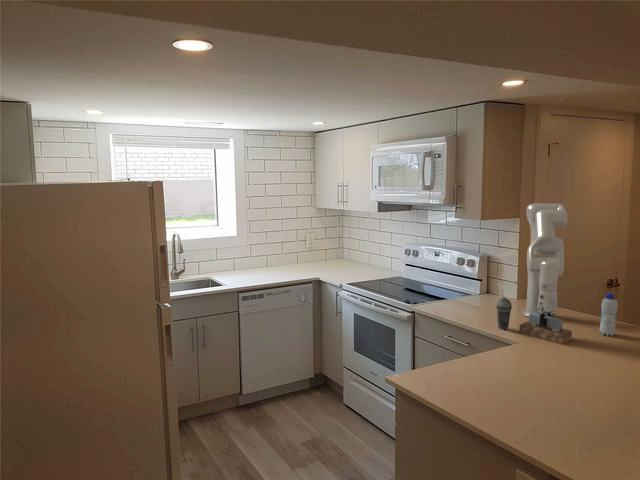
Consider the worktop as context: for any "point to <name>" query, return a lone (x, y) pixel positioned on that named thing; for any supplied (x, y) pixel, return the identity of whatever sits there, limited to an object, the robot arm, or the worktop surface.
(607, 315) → the bottle
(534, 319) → the grey block
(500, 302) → the beverage cup
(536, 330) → the brown rectangular block
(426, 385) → the worktop surface
